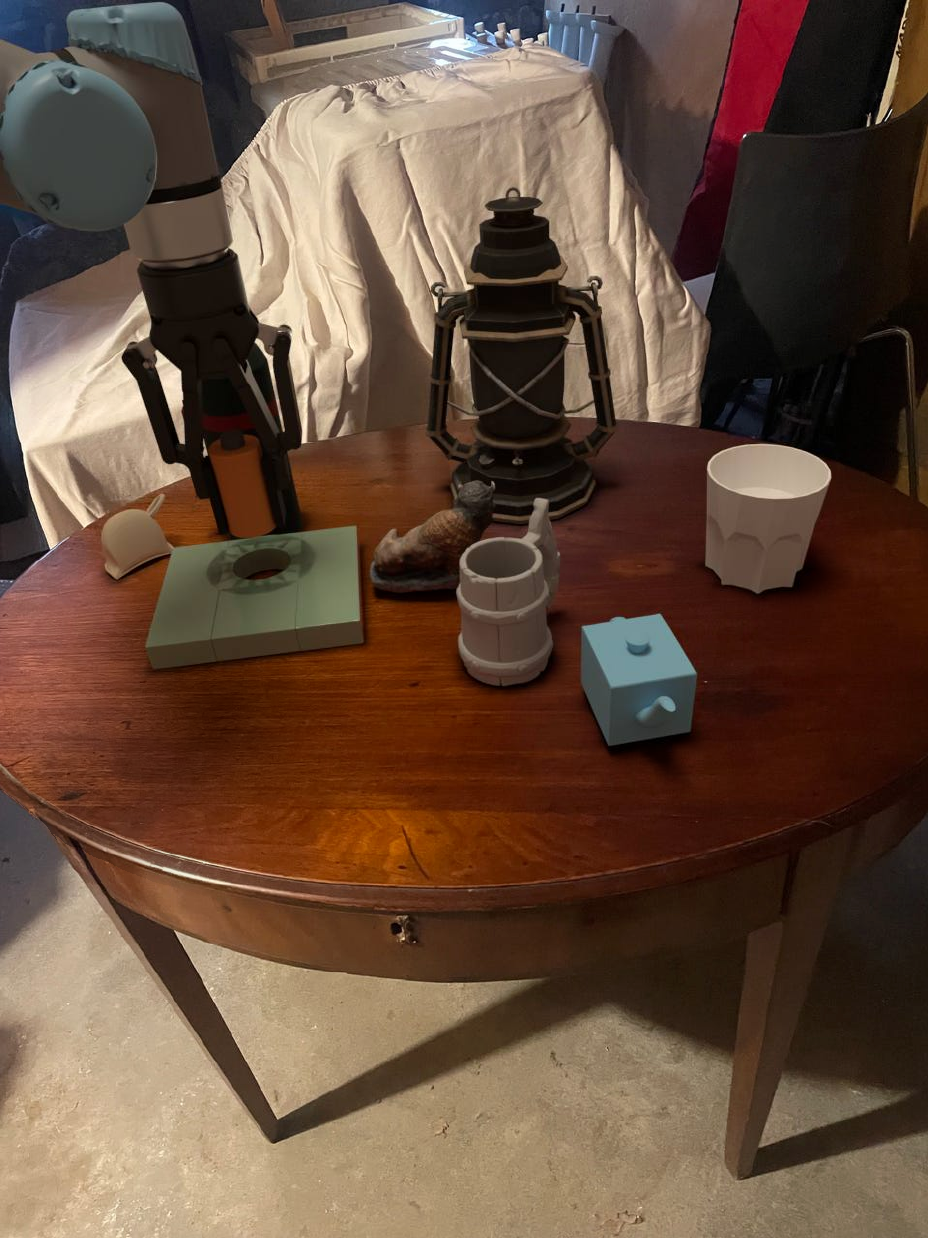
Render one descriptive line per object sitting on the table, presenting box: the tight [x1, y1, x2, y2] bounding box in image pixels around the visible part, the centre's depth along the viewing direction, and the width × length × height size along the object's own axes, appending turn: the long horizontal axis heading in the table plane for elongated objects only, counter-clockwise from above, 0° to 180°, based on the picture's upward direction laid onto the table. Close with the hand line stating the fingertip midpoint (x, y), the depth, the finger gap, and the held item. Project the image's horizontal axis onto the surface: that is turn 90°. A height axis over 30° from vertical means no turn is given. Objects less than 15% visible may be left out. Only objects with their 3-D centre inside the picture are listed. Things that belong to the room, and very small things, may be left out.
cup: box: [704, 443, 832, 595], centre depth 78 cm, size 10×10×10 cm
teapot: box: [580, 613, 698, 747], centre depth 63 cm, size 12×6×8 cm, turn 10°
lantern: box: [425, 186, 619, 526], centre depth 87 cm, size 20×16×30 cm
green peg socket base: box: [144, 525, 365, 671], centre depth 81 cm, size 18×16×2 cm
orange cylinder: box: [208, 430, 276, 538], centre depth 77 cm, size 4×4×9 cm
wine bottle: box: [180, 342, 304, 541], centre depth 83 cm, size 8×10×30 cm
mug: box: [455, 498, 561, 687], centre depth 70 cm, size 8×12×12 cm, turn 145°
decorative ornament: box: [100, 493, 174, 581], centre depth 88 cm, size 4×8×5 cm, turn 133°
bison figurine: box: [369, 481, 496, 594], centre depth 79 cm, size 12×7×10 cm, turn 91°
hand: (253, 522), depth 80 cm, fingers closed on orange cylinder, 4 cm apart
